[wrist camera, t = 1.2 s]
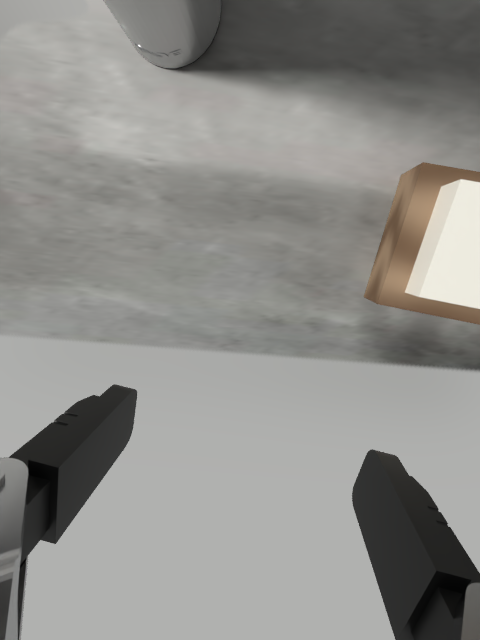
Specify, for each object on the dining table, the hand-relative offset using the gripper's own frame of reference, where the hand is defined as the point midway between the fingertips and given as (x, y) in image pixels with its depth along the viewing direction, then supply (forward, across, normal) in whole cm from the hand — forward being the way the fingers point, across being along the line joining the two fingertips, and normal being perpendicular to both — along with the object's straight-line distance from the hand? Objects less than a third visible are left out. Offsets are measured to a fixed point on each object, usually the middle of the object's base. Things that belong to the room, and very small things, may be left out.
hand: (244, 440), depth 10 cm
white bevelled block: (+19, -15, -10) cm, 26 cm away
